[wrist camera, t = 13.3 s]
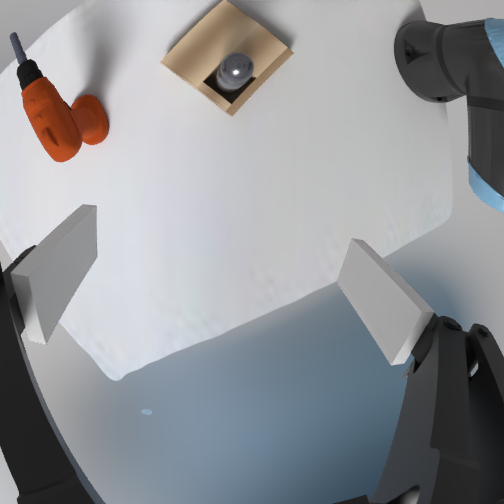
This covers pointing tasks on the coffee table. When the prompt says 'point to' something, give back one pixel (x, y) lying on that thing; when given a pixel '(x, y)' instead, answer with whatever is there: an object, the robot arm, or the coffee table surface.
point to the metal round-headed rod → (234, 72)
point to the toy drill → (58, 112)
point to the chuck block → (225, 54)
